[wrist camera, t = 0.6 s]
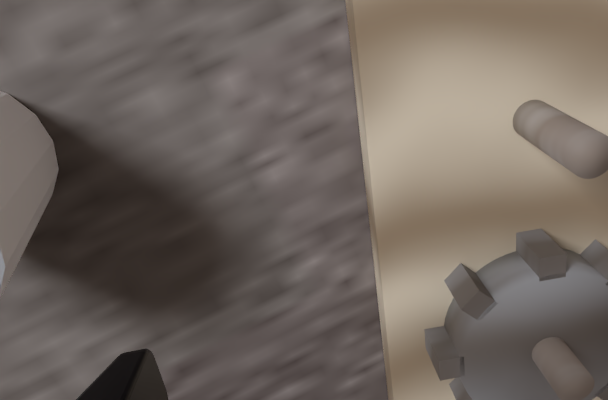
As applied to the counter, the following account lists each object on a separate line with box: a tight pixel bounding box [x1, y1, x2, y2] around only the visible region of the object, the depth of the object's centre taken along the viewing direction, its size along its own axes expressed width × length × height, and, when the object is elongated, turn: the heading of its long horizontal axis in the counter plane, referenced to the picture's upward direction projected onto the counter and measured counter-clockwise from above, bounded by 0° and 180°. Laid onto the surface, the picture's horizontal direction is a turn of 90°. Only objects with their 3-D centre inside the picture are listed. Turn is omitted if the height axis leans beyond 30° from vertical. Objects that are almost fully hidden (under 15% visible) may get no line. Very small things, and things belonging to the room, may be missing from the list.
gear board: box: [345, 0, 608, 400], centre depth 21 cm, size 22×12×6 cm, turn 8°
